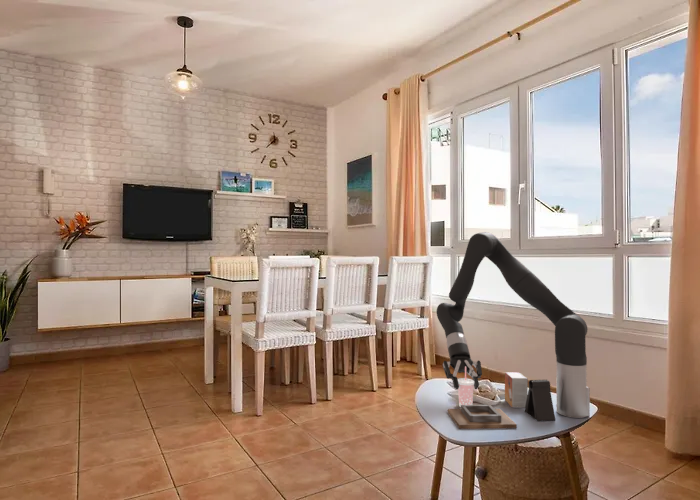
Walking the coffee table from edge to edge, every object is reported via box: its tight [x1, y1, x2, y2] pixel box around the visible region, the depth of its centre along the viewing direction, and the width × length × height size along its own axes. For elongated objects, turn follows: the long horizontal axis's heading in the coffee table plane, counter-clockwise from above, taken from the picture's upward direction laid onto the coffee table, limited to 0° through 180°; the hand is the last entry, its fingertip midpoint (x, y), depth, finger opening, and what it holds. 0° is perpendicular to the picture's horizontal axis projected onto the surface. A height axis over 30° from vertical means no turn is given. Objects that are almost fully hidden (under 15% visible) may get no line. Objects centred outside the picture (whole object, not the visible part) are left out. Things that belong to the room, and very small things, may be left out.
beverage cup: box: [457, 366, 474, 408], centre depth 156 cm, size 6×6×14 cm
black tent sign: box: [524, 379, 556, 422], centre depth 146 cm, size 9×6×12 cm, turn 5°
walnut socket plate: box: [447, 404, 518, 430], centre depth 143 cm, size 18×14×3 cm
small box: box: [504, 371, 529, 409], centre depth 158 cm, size 8×6×10 cm
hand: (467, 388), depth 154 cm, fingers closed on beverage cup, 6 cm apart
